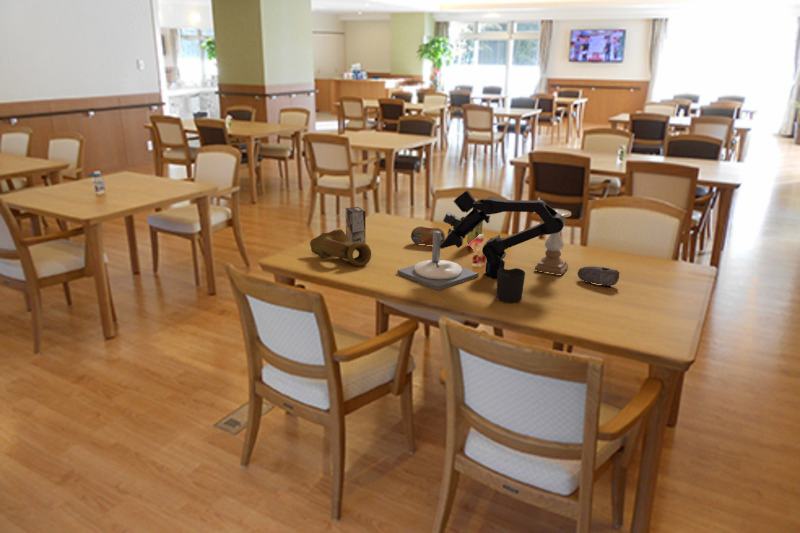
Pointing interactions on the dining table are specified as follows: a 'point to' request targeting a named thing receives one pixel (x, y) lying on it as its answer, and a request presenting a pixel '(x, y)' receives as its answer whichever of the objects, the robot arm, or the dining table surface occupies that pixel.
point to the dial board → (437, 283)
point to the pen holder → (510, 284)
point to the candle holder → (554, 252)
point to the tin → (425, 235)
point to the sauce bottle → (475, 232)
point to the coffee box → (355, 224)
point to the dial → (437, 264)
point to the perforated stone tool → (599, 275)
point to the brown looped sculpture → (340, 247)
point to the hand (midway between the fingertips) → (440, 247)
